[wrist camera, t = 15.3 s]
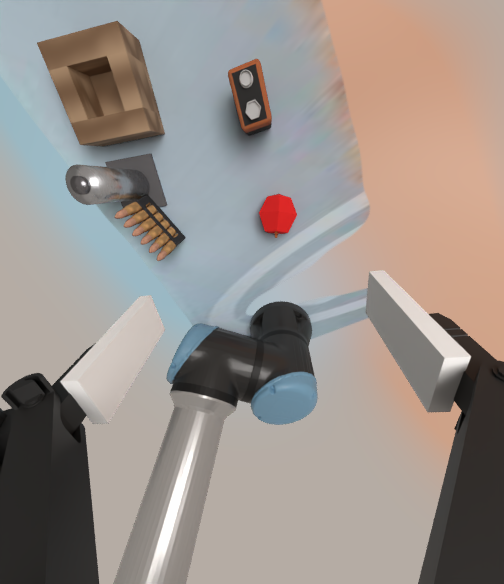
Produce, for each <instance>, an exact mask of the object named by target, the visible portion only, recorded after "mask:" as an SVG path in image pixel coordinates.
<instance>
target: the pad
mask: <svg viewBox="0 0 504 584" xmlns="http://www.w3.org/2000/svg"><path fill="white" fill-rule="evenodd" d="M105 163H106V165H107V167H109V168H121V169H132V170H138V171H140V172H141V173H143V174H144V175H145V177H146V178H147V180H148V183H149V192H148V194H147V195H149V196H150V198H151V199H152V200H153V201H154V202H155V203H156V204H157V206H158V207H160V206H166V205H167V203H166V200H165V196H164V193H163V190H162V187H161V183H160V180H159V177H158V174H157V170H156V167H155V164H154V161H153V157H152V154H146V155H141V156H136V157H131V158H125V159H120V160H115V161H110V162H105ZM135 201H137V200H130V201H121V203H122V206H123V208H124V207H125V206H127V205H129V204H131V203H133V202H135Z"/></svg>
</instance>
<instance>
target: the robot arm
mask: <svg viewBox="0 0 504 584" xmlns="http://www.w3.org/2000/svg"><path fill="white" fill-rule="evenodd" d="M366 314H367V315H368V317H369V319H370V320H371V322H372V323H373V325H374V327H375V328H376V330H377V331H378V333H379V335H380V336H381V338H382V339H383V341H384V343H385V344H386V346H387V347H388V349H389V351H390V352H391V354H392V355H393V357H394V359H395V360H396V362H397V364H398V365H399V367H400V369H401V370H402V372H403V373H404V375H405V377H406V378H407V380H408V382H409V383H410V385H411V386H412V388H413V389H414V391H415V393H416V394H417V396H418V398H419V399H420V401H421V402H422V404H423V406H424V407H425V409H426V411H427V412H450V411H451V408H452V405H453V402H454V401H455V402H456V404H457V405H458V406H459V408H460V409H461V410H462V412H461V414H460V417H459V419H458V421H457V424H456V426H455V430H456V433H455V437H454V441H453V446H452V449H451V453H450V457H449V461H448V466H447V469H446V474H445V478H444V482H443V486H442V490H441V494H440V498H439V502H438V506H437V510H436V514H435V518H434V522H433V526H432V530H431V534H430V538H429V542H428V546H427V550H426V555H425V558H424V562H423V566H422V570H421V575H420V579H419V582H418V584H504V362H502V361H497V360H496V359H494V358H493V357H492V356H491V355H490V354H489V353H488V352H487V351H486V350H484V349H483V348H482V347H481V346H480V345H479V344H478V343H477V342H476V341H474V340H473V339H472V338H471V337H470V336H468V335H467V334H466V333H465V332H464V331H463V330H462V329H460V327H459V326H458V325H456V324H455V323H454V322H453V321H452V320H451V319H449V318H447V317H445V316H443V315H441V314H439V313H434V314H428V313H426V311H425V310H423V308H422V307H420V306H419V305H418V304H417V303H416V302H415V301H414V300H413V299H412V298H411V297H410V296H409V295H408V294H407V293H406V292H405V291H404V290H403V289H402V288H401V287H400V286H399V285H398V284H397V283H396V282H395V281H394V280H393V279H392V278H391V277H390V276H389V275H388V274H387V273H386V272H385V271H384V270H381V271H371V272H369V280H368V291H367V303H366ZM164 331H165V329H164V326H163V324H162V321H161V319H160V316H159V314H158V311H157V309H156V307H155V304H154V302H153V299H152V297H151V295H150V296H140V297H139V298H138V299H137V300H136V301H135V302H134V303H133V304H132V305H131V306H130V307H129V308H128V310H127V311H126V312H125V313H124V314H123V315H122V316H121V317H120V318H119V319H118V320H117V321H116V323H114V325H113V326H112V327H111V328H110V329H109V330H108V331H107V332H106V333H105V334H104V335H103V336H102V337H101V339H100V340H99V341H98V342H97V343H95V344H94V345H92V346H91V347H90V348H88V349H87V350H86V351H85V352H84V353H83V354H82V355H81V356H80V358H79V359H77V360H76V361H75V362H74V365H71V367H70V368H69V369H68V370H67V371H66V372H65V373H64V374H63V375H62V376H61V377H60V378H59V379H58V380H57V381H56V382H55V383H54V384H53V385H52V386H51V385H50V383H49V382H48V381H47V380H46V378H45V377H44V376H43V375H42V374H40V373H35V374H31V375H28V376H25V377H23V378H21V379H19V380H18V381H16V382H15V383H13V384H12V385H11V386H9V387H8V388H7V389H6V390H5V391H4V392H3V394H2V398H3V399H4V400H5V401H6V402H7V403H8V404H9V405H10V406H11V407H12V409H8V410H5V411H2V409H1V408H0V584H99V577H98V565H97V554H96V544H95V534H94V522H93V511H92V500H91V489H90V478H89V469H88V468H89V467H88V457H87V445H86V435H85V428H84V426H83V424H82V421H83V420H84V418H85V417H86V416H87V417H88V418H89V420H90V421H91V422H92V423H93V424H105V423H109V422H110V420H111V418H112V417H113V415H114V413H115V411H116V410H117V408H118V407H119V405H120V403H121V402H122V400H123V399H124V397H125V395H126V394H127V392H128V390H129V388H130V387H131V385H132V384H133V382H134V380H135V379H136V377H137V375H138V374H139V372H140V370H141V369H142V367H143V366H144V364H145V362H146V361H147V359H148V357H149V356H150V354H151V352H152V351H153V349H154V347H155V346H156V344H157V342H158V341H159V339H160V337H161V336H162V334H163V332H164ZM250 333H251V337H249V336H245V335H242V334H238V333H235V332H232V331H228V330H225V329H222V328H219V327H218V326H215V327H214V326H209V325H205V324H196V325H194V326H193V327H192V328H191V329H190V330H189V331H188V332H187V334H186V335H185V337H184V339H183V340H182V342H181V344H180V345H179V347H178V349H177V351H176V353H175V355H174V358H173V360H172V363H171V365H170V367H169V370H168V373H167V381H168V382H169V383H170V384H173V386H172V389H171V392H170V396H171V398H172V400H173V403H174V410H173V413H172V416H171V419H170V422H169V425H168V428H167V431H166V433H165V436H164V439H163V442H162V445H161V448H160V451H159V454H158V456H157V459H156V462H155V465H154V468H153V471H152V474H151V477H150V479H149V483H148V485H147V488H146V491H145V494H144V497H143V500H142V503H141V506H140V508H139V511H138V514H137V517H136V520H135V523H134V526H133V529H132V532H131V534H130V538H129V540H128V543H127V546H126V549H125V552H124V555H123V558H122V560H121V563H120V566H119V569H118V572H117V575H116V578H115V581H114V583H113V584H186V581H187V577H188V572H189V568H190V564H191V560H192V555H193V551H194V547H195V542H196V538H197V534H198V530H199V526H200V521H201V517H202V513H203V509H204V504H205V500H206V496H207V492H208V487H209V483H210V478H211V474H212V470H213V466H214V462H215V457H216V453H217V449H218V445H219V440H220V436H221V432H222V428H223V423H224V420H225V418H226V417H227V416H229V415H230V414H231V413H233V412H234V411H235V410H236V406H237V402H238V400H240V401H244V402H247V403H251V408H252V411H253V414H254V415H255V416H256V417H258V419H259V420H261V421H263V422H265V423H269V424H276V425H280V424H289V423H293V422H295V421H298V420H301V419H303V418H304V417H306V416H307V415H308V414H310V413H311V412H312V410H313V409H314V407H315V406H316V403H317V387H316V384H317V382H316V378H315V376H314V372H313V367H312V362H311V357H310V353H309V348H308V346H309V342H310V339H311V335H312V326H311V322H310V318H309V316H308V314H307V313H306V312H305V311H304V310H303V309H302V308H301V307H299V306H297V305H295V304H293V303H289V302H274V303H269V304H267V305H265V306H263V307H261V308H260V309H259V310H258V311H257V312H256V313H255V314H254V316H253V318H252V320H251V327H250Z"/></svg>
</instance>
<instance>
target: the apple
mask: <svg viewBox="0 0 504 584" xmlns="http://www.w3.org/2000/svg"><path fill="white" fill-rule="evenodd" d="M259 214H260V217H261V221H262V224H263V227H264V230H265V232H268V233H275V238H277V236H278V234H284V233H288V232H289V230H290V228H291V226H292V224H293V222H294V220H295V218H296V216H297V214H296V211H295V208H294V205H293V203H292V200H291V198H290V197H286V196H283V195H280V194H277V195H273V196H268V197H267V198H266V200H265V202H264V204H263V206H262V208H261V210H260V212H259Z"/></svg>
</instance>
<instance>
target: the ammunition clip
mask: <svg viewBox="0 0 504 584" xmlns="http://www.w3.org/2000/svg"><path fill="white" fill-rule="evenodd" d="M142 209H143V210H142ZM140 210H141V211H140ZM135 213H136V214H135ZM133 214H134V215H133ZM129 215H133V216H132V217H131V218H130V219H128V220H127V221H126V222H125V224H124V227H126V228H127V227H132V226H134V225H136V224H139V223H141V222H142V223H141V224H140V226H138V227H137V228H136V229H135V230H134V232H133V234H132V235H133V236H138V235H141V234H142V233H144V232H147V231H149V230H150V229H151V230H150V231H149V232H148V233H147V234H146V236H144V237H143V239H142V240H141V244H142V245H143V244H147V243H149V242H150V241H152V240H153V239H156V238H157V237H158V238H157V239H156V240H155V242H154V243H153V244H152V246H151V247H150V249H149V253H152V252H155V251H156V250H158V249H159V248H160V247H162V246H164V245H165V246H164V247H163V248H162V250H161V252H160V253H159V254H158V256H157V261H160V260H162V259H164V258H165V257H166V256H167V255H168V254H170V253H171V252H172V251H173V250H174V248H175V247H176V246H177V245H178V244H179V243H180V242H182V241H183V240H184V239H185V236H184V235H183V234H182V233H181V232H180V231H179V229H178V228H177V227H176V226H175V225H174V224H173V223H172V221H171V220H170V219H169V218H168V217H167V216H166V215H165V214H164V212H163V211H162V210H161V209H160V208H159V207H158V206H157V204H156V203H155V202H154V201H153V200H152V199H151V198H150V196H149V195H146V196H143V197H142V198H140V199H138V200H137V201H135V202H133V203H131V204H129V205H127V206H125V207H124V208H123V209H122V210H120V211H119V212H117V213H116V215H115V218H117V219H120V218H124V217H126V216H129ZM149 217H150V218H149ZM146 219H147V220H146ZM143 221H144V222H143ZM155 225H156V226H155ZM154 226H155V227H154ZM163 232H164V233H163ZM162 233H163V234H162ZM160 234H162V235H160ZM170 239H171V240H170ZM169 240H170V241H169ZM168 241H169V242H168Z"/></svg>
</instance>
